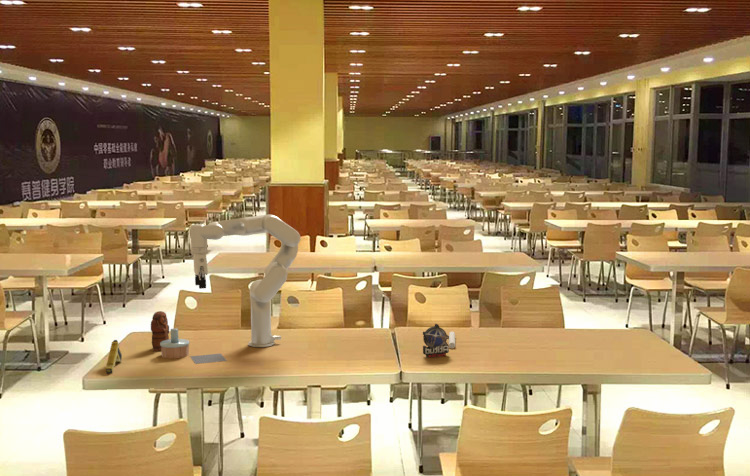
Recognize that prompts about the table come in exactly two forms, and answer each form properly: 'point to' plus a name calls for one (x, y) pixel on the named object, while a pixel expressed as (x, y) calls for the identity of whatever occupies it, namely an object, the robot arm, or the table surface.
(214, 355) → the mat
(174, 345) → the lid
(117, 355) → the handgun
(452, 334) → the tube
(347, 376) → the table surface
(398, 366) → the table surface
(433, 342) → the decorative emblem
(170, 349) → the bowl
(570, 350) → the table surface
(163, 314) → the wooden figurine
